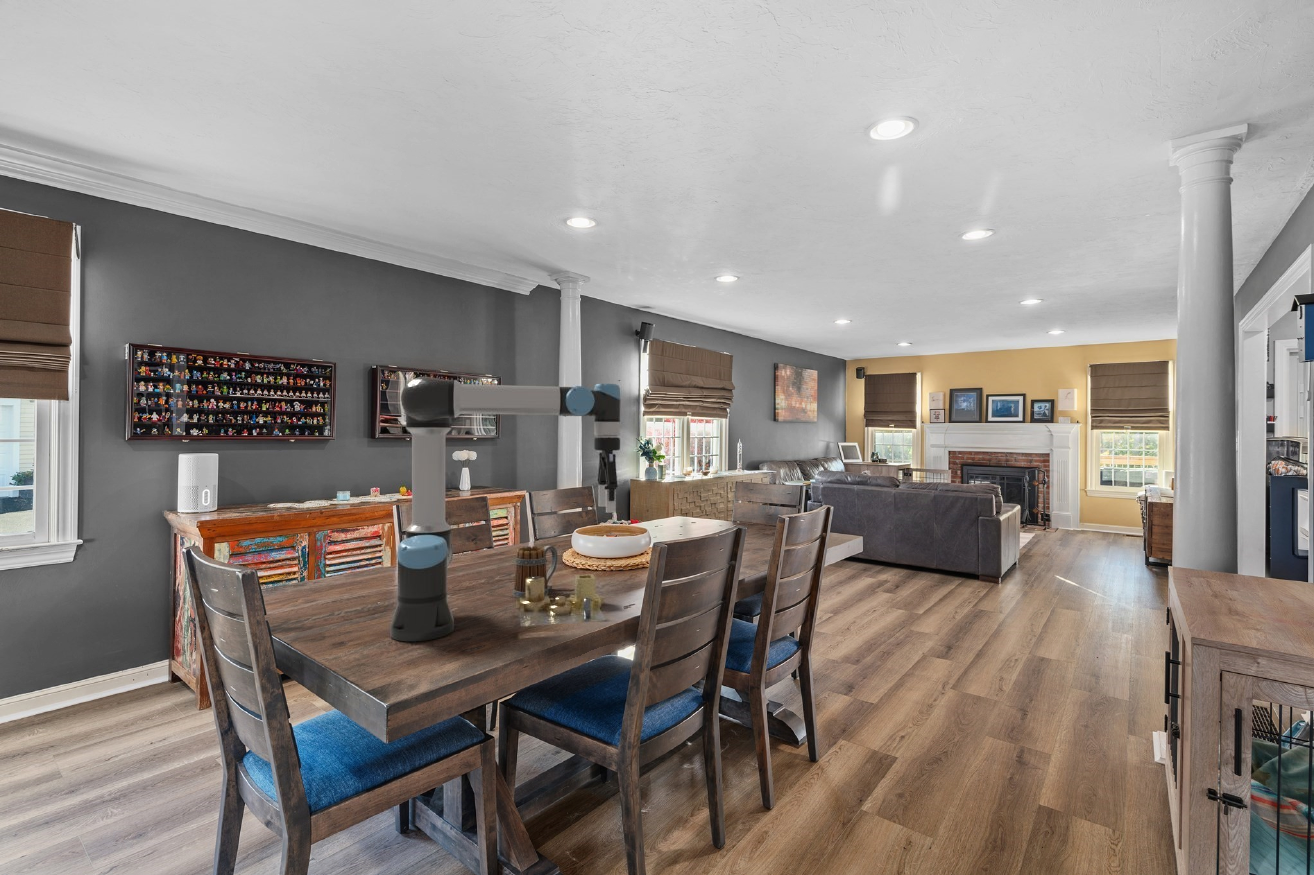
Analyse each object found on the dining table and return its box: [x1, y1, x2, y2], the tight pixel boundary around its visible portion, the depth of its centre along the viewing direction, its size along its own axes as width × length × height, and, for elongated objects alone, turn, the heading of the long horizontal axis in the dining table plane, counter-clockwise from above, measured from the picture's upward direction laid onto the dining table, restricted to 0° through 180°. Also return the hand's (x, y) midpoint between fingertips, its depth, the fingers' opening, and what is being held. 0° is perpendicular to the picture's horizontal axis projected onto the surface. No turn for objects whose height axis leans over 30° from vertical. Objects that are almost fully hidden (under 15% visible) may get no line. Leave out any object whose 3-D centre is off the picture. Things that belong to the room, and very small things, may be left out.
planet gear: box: [566, 573, 604, 609], centre depth 175 cm, size 10×10×8 cm
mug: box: [512, 545, 558, 599], centre depth 188 cm, size 16×11×15 cm
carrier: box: [515, 576, 607, 627], centre depth 169 cm, size 23×22×10 cm
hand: (606, 509), depth 180 cm, fingers open, 13 cm apart
